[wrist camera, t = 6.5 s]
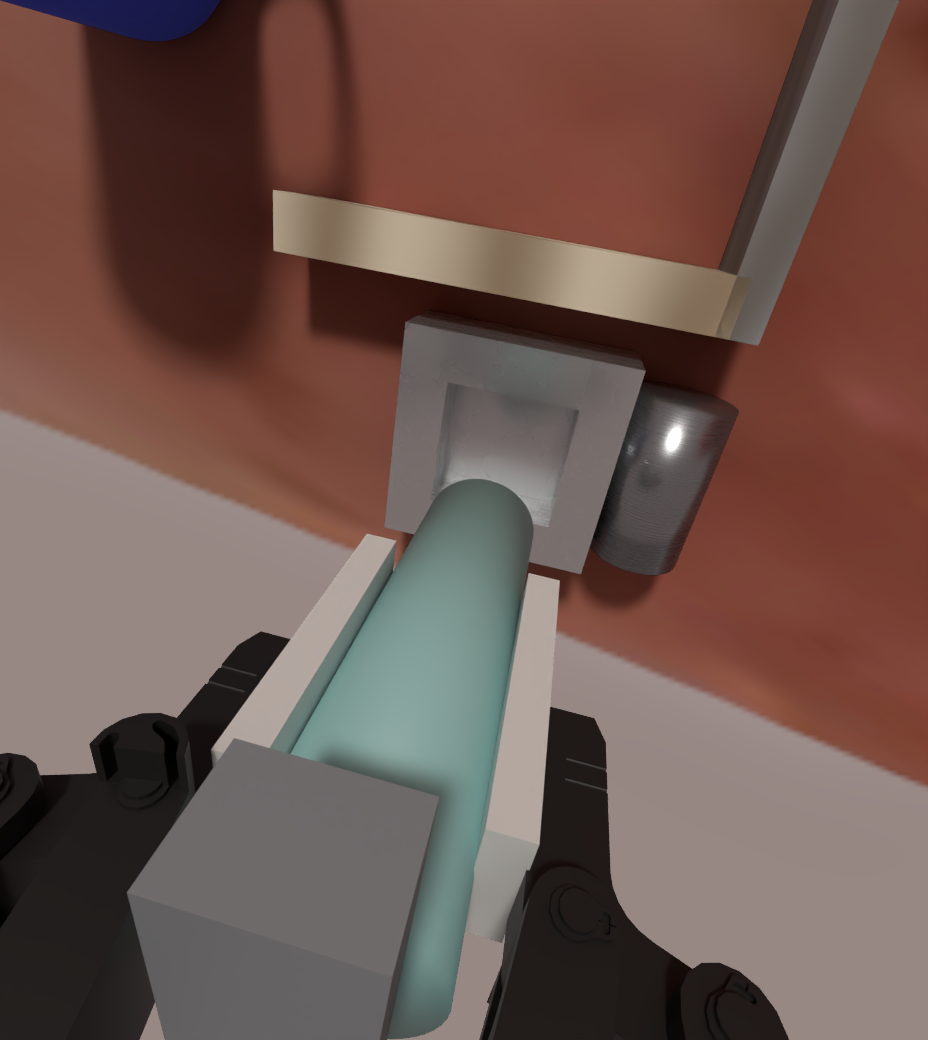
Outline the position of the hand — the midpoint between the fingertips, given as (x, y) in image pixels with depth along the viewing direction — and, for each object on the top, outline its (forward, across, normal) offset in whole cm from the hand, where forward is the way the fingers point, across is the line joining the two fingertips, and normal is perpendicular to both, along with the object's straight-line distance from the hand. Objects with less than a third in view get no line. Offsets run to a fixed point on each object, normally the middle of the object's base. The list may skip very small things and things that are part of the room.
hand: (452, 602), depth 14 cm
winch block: (+13, +2, 0) cm, 14 cm away
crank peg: (+4, 0, 0) cm, 4 cm away
